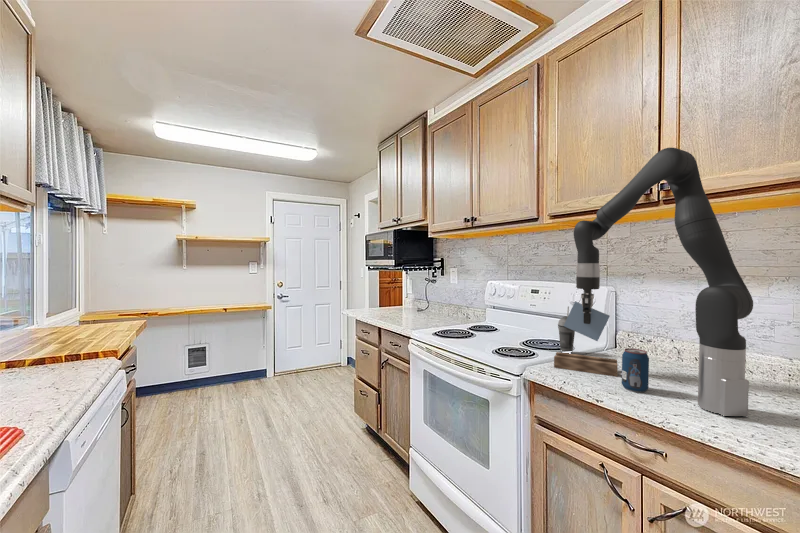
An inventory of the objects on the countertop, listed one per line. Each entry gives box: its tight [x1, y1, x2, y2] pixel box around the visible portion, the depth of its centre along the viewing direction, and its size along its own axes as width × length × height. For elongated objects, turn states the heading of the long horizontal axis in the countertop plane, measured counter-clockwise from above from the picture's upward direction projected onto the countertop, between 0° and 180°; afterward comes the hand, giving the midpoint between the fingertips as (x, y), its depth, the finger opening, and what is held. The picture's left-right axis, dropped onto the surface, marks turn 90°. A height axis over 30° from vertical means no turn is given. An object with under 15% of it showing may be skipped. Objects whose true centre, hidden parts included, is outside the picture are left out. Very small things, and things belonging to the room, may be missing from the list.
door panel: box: [564, 301, 611, 342], centre depth 130 cm, size 12×2×10 cm, turn 60°
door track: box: [553, 351, 619, 377], centre depth 130 cm, size 20×8×4 cm, turn 60°
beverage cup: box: [557, 306, 576, 352], centre depth 153 cm, size 7×7×20 cm
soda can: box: [621, 347, 650, 394], centre depth 110 cm, size 7×7×12 cm
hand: (587, 323), depth 130 cm, fingers closed on door panel, 2 cm apart
